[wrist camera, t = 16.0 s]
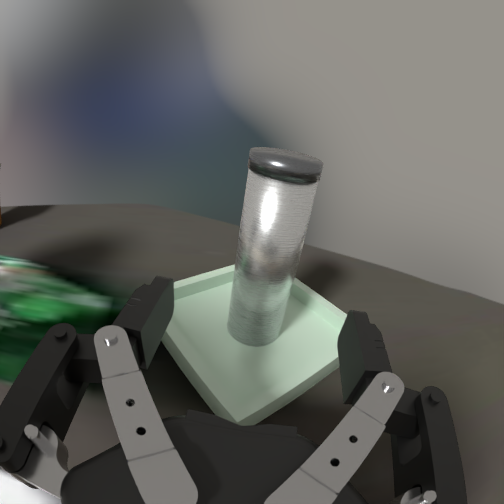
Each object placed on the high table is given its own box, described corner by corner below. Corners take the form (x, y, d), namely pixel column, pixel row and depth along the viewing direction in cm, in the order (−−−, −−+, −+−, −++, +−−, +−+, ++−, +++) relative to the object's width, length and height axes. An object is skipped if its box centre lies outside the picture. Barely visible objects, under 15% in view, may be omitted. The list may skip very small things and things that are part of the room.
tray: (233, 437, 19) (237, 422, 17) (142, 311, 29) (140, 291, 28) (361, 348, 28) (370, 331, 27) (261, 272, 38) (264, 255, 37)
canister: (248, 355, 25) (287, 165, 17) (215, 320, 28) (235, 146, 20) (291, 333, 28) (337, 166, 20) (256, 303, 31) (286, 148, 23)
